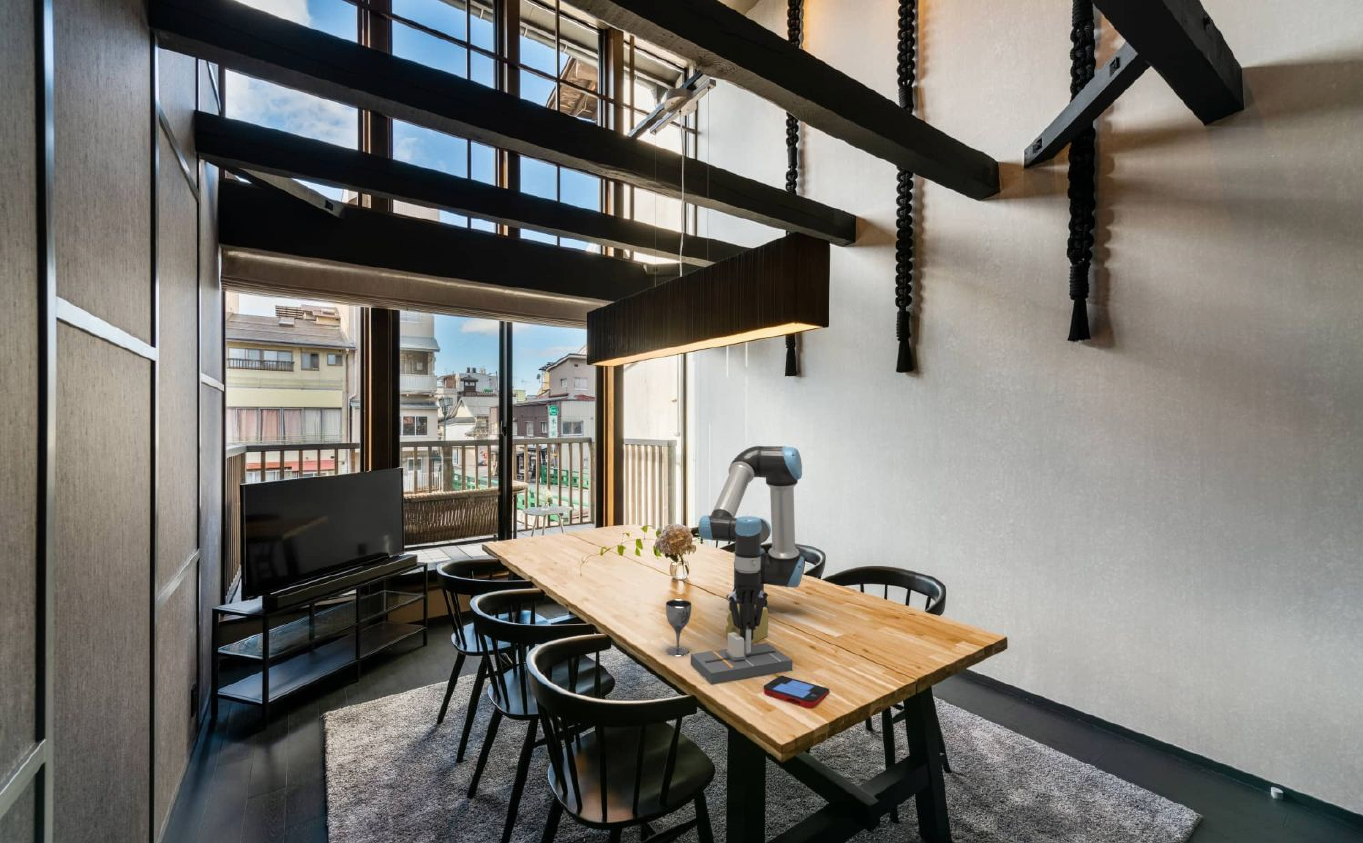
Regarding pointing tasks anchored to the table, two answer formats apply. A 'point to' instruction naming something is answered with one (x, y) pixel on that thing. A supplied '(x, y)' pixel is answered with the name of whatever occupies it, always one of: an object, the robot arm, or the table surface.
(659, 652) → the table surface
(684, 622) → the wine glass
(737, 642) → the fader
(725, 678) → the board
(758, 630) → the cheese
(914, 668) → the table surface
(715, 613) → the table surface
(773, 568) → the robot arm
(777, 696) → the red and black smartphone
